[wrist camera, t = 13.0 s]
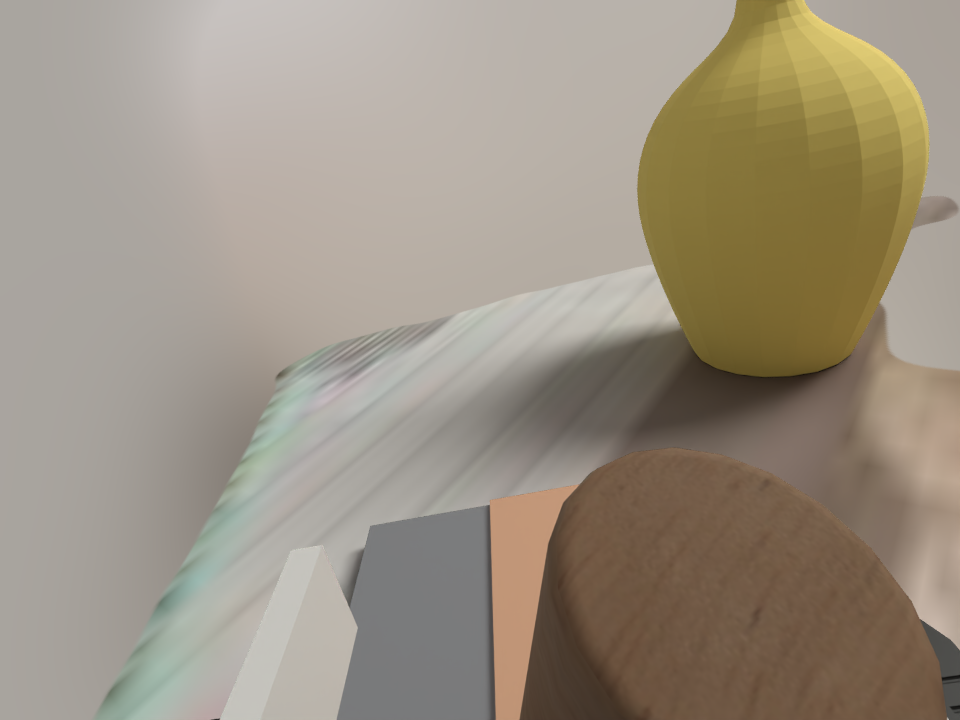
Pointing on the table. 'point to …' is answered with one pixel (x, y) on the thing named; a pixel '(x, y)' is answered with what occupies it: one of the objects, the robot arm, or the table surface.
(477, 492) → the table surface
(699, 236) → the vase
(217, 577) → the table surface
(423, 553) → the board
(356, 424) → the table surface
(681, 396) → the table surface
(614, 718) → the wooden block set
